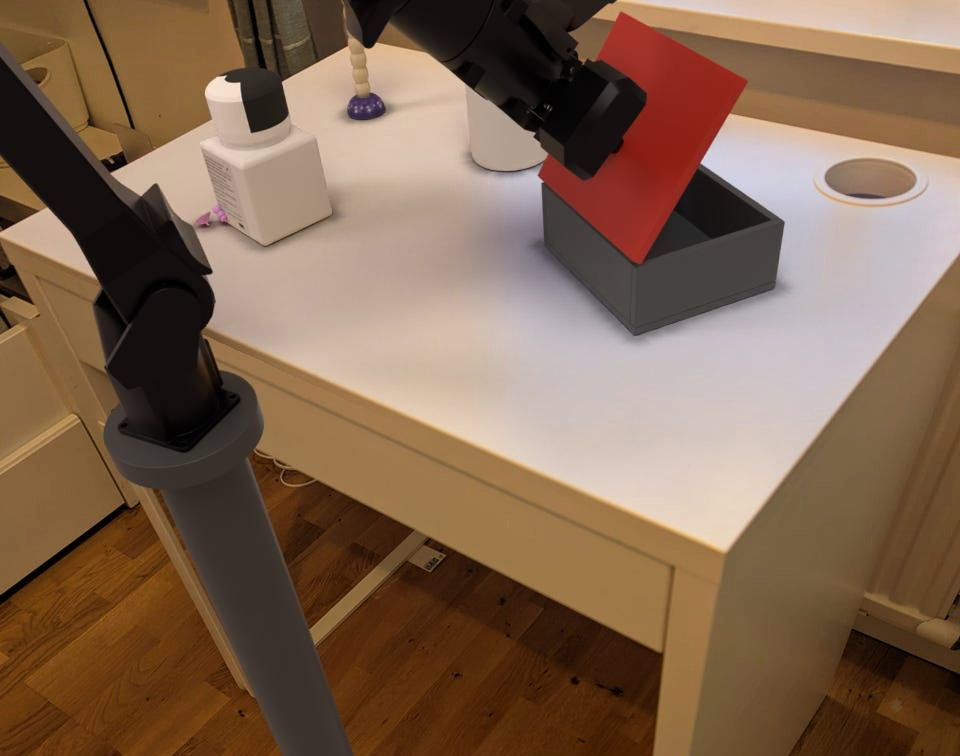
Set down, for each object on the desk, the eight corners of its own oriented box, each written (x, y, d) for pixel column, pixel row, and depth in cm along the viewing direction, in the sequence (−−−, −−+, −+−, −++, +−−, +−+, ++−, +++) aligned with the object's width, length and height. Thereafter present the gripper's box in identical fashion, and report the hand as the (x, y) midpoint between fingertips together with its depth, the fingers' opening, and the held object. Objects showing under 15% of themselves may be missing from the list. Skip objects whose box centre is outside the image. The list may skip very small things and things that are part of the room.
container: (290, 190, 92) (255, 52, 83) (334, 215, 87) (303, 72, 78) (221, 221, 88) (178, 80, 79) (264, 248, 84) (223, 103, 75)
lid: (627, 15, 70) (620, 10, 70) (749, 81, 60) (740, 76, 59) (544, 178, 76) (536, 175, 76) (641, 264, 66) (633, 261, 65)
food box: (669, 206, 83) (673, 144, 79) (775, 288, 72) (785, 221, 68) (543, 245, 80) (540, 182, 76) (634, 336, 70) (636, 268, 66)
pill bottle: (495, 181, 89) (481, 13, 79) (458, 152, 94) (440, -10, 84) (567, 158, 91) (563, -9, 81) (526, 130, 97) (517, -30, 86)
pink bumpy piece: (211, 237, 89) (203, 239, 87) (200, 223, 89) (191, 224, 87) (233, 217, 88) (225, 218, 86) (222, 203, 88) (213, 204, 86)
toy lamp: (395, 104, 104) (370, -64, 93) (380, 122, 101) (352, -50, 90) (356, 103, 106) (326, -64, 94) (340, 120, 103) (307, -50, 91)
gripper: (619, -74, 49) (772, 89, 59) (478, -134, 61) (624, 10, 71) (494, 114, 52) (657, 237, 63) (385, 22, 65) (536, 136, 75)
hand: (617, 146), depth 68 cm, fingers closed
